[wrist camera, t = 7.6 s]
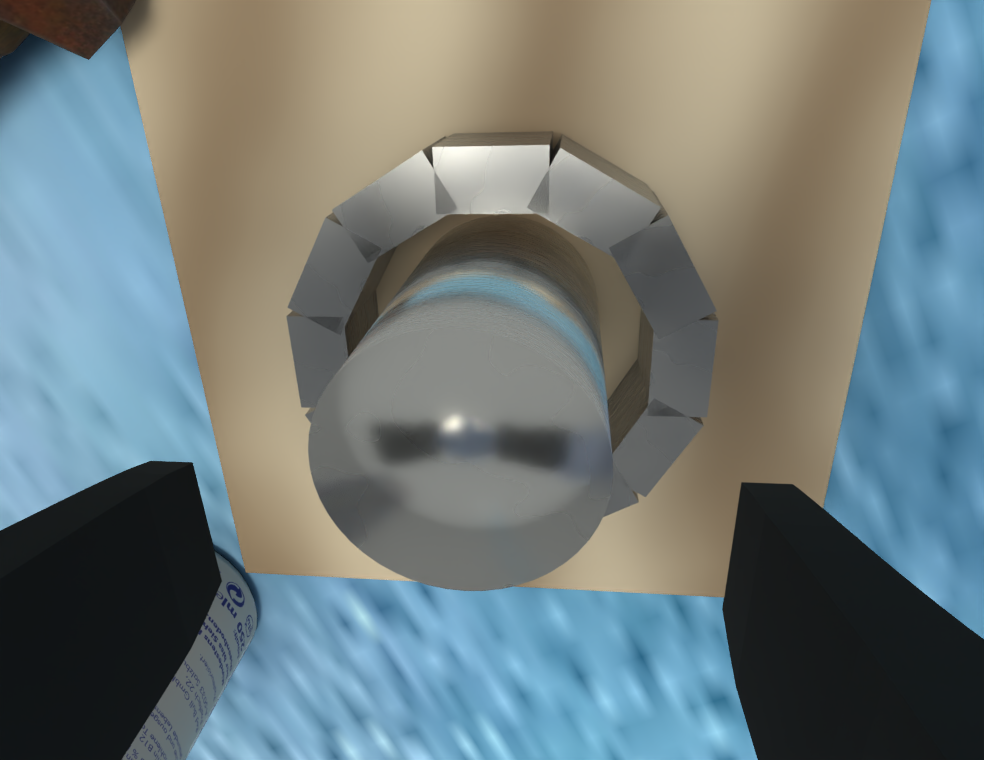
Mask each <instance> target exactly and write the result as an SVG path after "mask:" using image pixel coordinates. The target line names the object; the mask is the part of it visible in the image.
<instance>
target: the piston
mask: <svg viewBox="0 0 984 760" xmlns="http://www.w3.org/2000/svg"><path fill="white" fill-rule="evenodd" d="M308 455H309V466H310V471H311V475H312V479H313V483H314V486H315V488H316V491H317V493H318V496H319V498H320V500H321V502H322V504H323V506H324V508H325V510H326V511H327V513H328V515H329V516H330V518H331V519H332V520H333V522H334V523H335V525H336V526H337V527H338V529H339V530H340V531H341V532H342V533H343V534H344V535H345V536H346V537H347V538H348V540H349V541H350V542H351V543H353V544H354V545H355V546H356V547H357V548H358V549H359V550H361V551H362V552H363V553H364V554H366V555H367V556H368V557H370V558H371V559H373V560H374V561H376V562H377V563H378V564H380V565H382V566H384V567H386V568H387V569H389V570H391V571H393V572H395V573H397V574H399V575H402V576H404V577H406V578H409V579H411V580H414V581H417V582H420V583H424V584H427V585H431V586H435V587H440V588H445V589H453V590H463V591H486V590H495V589H503V588H508V587H512V586H517V585H520V584H523V583H526V582H529V581H532V580H535V579H537V578H539V577H542V576H544V575H546V574H548V573H550V572H552V571H553V570H555V569H557V568H558V567H560V566H561V565H563V564H564V563H566V562H567V561H568V560H569V559H571V558H572V557H573V556H574V555H575V554H577V553H578V552H579V551H580V550H581V548H582V547H583V546H584V545H585V544H586V543H587V542H588V541H589V540H590V538H591V537H592V535H593V534H594V532H595V531H596V529H597V528H598V526H599V524H600V522H601V520H602V518H603V516H604V514H605V512H606V509H607V506H608V502H609V499H610V496H611V490H612V482H613V457H612V447H611V436H610V425H609V415H608V404H607V394H606V383H605V373H604V362H603V352H602V341H601V331H600V320H599V310H598V299H597V293H596V287H595V284H594V281H593V277H592V274H591V272H590V270H589V268H588V266H587V264H586V262H585V261H584V259H583V258H582V256H581V255H580V253H579V252H578V251H577V250H576V249H575V248H574V246H573V245H572V244H571V243H570V242H569V241H567V240H566V239H565V238H564V237H563V236H562V235H560V234H559V233H557V232H556V231H554V230H553V229H551V228H549V227H547V226H545V225H543V224H541V223H539V222H536V221H533V220H530V219H527V218H522V217H517V216H507V215H496V216H486V217H481V218H477V219H473V220H471V221H468V222H465V223H463V224H461V225H459V226H457V227H455V228H453V229H452V230H450V231H449V232H447V233H446V234H444V235H443V236H442V237H441V238H440V239H439V240H438V241H437V242H435V243H434V244H433V246H432V247H431V248H430V249H429V251H428V252H427V253H426V254H425V256H424V257H423V258H422V260H421V261H420V262H419V264H418V265H417V266H416V268H415V269H414V270H413V272H412V273H411V274H410V276H409V277H408V278H407V280H406V281H405V282H404V284H403V285H402V286H401V288H400V289H399V290H398V292H397V293H396V294H395V296H394V297H393V298H392V300H391V301H390V302H389V304H388V305H387V306H386V308H385V309H384V310H383V312H382V313H381V314H380V316H379V317H378V318H377V320H376V321H375V322H374V324H373V325H372V326H371V328H370V329H369V330H368V332H367V333H366V334H365V336H364V337H363V338H362V340H361V341H360V342H359V344H358V345H357V346H356V348H355V349H354V350H353V352H352V353H351V354H350V356H349V357H348V358H347V360H346V361H345V362H344V364H343V365H342V366H341V368H340V369H339V370H338V372H337V373H336V374H335V376H334V377H333V378H332V380H331V381H330V383H329V384H328V385H327V387H326V389H325V390H324V392H323V394H322V396H321V397H320V399H319V401H318V403H317V406H316V409H315V411H314V414H313V416H312V421H311V426H310V430H309V441H308Z"/></svg>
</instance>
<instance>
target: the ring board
mask: <svg viewBox="0 0 984 760" xmlns="http://www.w3.org/2000/svg"><path fill="white" fill-rule="evenodd" d="M930 4H931V0H136V2H135V4H134V5H133V7H132V9H131V10H130V12H129V13H128V15H127V17H126V18H125V20H124V21H123V23H122V24H121V25H120V26H121V30H122V34H123V39H124V43H125V48H126V52H127V56H128V61H129V65H130V69H131V74H132V78H133V82H134V87H135V91H136V96H137V100H138V104H139V109H140V113H141V117H142V122H143V126H144V130H145V135H146V139H147V144H148V148H149V152H150V157H151V161H152V165H153V170H154V174H155V178H156V183H157V187H158V191H159V196H160V200H161V205H162V209H163V213H164V218H165V222H166V226H167V231H168V235H169V239H170V244H171V248H172V253H173V257H174V261H175V266H176V270H177V274H178V279H179V283H180V287H181V292H182V296H183V301H184V305H185V309H186V314H187V318H188V322H189V327H190V331H191V335H192V340H193V344H194V349H195V353H196V357H197V362H198V366H199V370H200V375H201V379H202V383H203V388H204V392H205V397H206V401H207V405H208V410H209V414H210V418H211V423H212V427H213V431H214V436H215V440H216V445H217V449H218V453H219V458H220V462H221V466H222V471H223V475H224V479H225V484H226V488H227V493H228V497H229V501H230V506H231V510H232V514H233V519H234V523H235V527H236V532H237V536H238V540H239V545H240V549H241V554H242V558H243V562H244V567H245V571H246V573H265V574H284V575H303V576H323V577H342V578H361V579H381V580H400V581H414V580H411V579H409V578H406V577H404V576H402V575H399V574H397V573H395V572H393V571H391V570H389V569H387V568H386V567H384V566H382V565H380V564H378V563H377V562H376V561H374V560H373V559H371V558H370V557H368V556H367V555H366V554H364V553H363V552H362V551H361V550H359V549H358V548H357V547H356V546H355V545H354V544H353V543H351V542H350V541H349V540H348V538H347V537H346V536H345V535H344V534H343V533H342V532H341V531H340V530H339V529H338V527H337V526H336V525H335V523H334V522H333V520H332V519H331V518H330V516H329V515H328V513H327V511H326V510H325V508H324V506H323V504H322V502H321V500H320V498H319V496H318V493H317V491H316V488H315V486H314V483H313V479H312V475H311V471H310V466H309V455H308V441H309V430H310V426H311V423H310V421H309V420H308V419H307V417H306V416H305V414H306V413H307V412H308V410H309V409H310V408H302V407H301V403H300V397H299V390H298V384H297V378H296V372H295V366H294V360H293V354H292V348H291V342H290V336H289V330H288V324H287V317H286V316H287V315H288V314H289V313H291V312H292V311H293V310H291V309H289V308H287V307H288V305H289V302H290V300H291V298H292V295H293V293H294V290H295V288H296V286H297V283H298V281H299V279H300V276H301V274H302V272H303V269H304V267H305V265H306V262H307V260H308V257H309V255H310V253H311V250H312V248H313V246H314V243H315V241H316V239H317V236H318V234H319V231H320V229H321V227H322V224H323V222H324V220H325V217H327V216H328V215H330V214H331V213H333V211H332V209H334V208H335V207H337V206H338V205H340V204H341V203H343V202H344V201H346V200H347V199H349V198H350V197H352V196H353V195H355V194H356V193H358V192H359V191H361V190H362V189H364V188H365V187H367V186H368V185H370V184H372V183H373V182H375V181H376V180H378V179H379V178H381V177H382V176H384V175H385V174H387V173H388V172H390V171H391V170H393V169H394V168H396V167H397V166H399V165H400V164H402V163H403V162H405V161H406V160H408V159H409V158H411V157H412V156H414V155H415V154H417V153H418V152H420V151H421V150H423V149H425V148H426V147H428V146H430V145H431V144H433V143H435V142H436V141H438V140H439V139H441V138H443V137H444V136H445V137H446V138H447V137H449V136H450V135H452V134H453V133H492V132H543V131H553V149H554V147H555V146H556V144H557V142H558V140H559V138H560V137H561V135H562V134H563V135H565V136H567V137H569V138H570V139H572V140H574V141H575V142H577V143H579V144H580V145H582V146H584V147H585V148H587V149H589V150H590V151H592V152H594V153H596V154H597V155H599V156H601V157H602V158H604V159H606V160H607V161H609V162H611V163H612V164H614V165H616V166H617V167H619V168H621V169H622V170H624V171H626V172H628V173H629V174H631V175H633V176H634V177H636V178H638V179H639V180H641V181H643V182H644V183H646V184H647V185H648V186H649V188H650V190H651V191H654V192H655V194H656V196H657V197H658V199H659V201H660V202H661V204H662V206H663V207H664V209H665V210H666V212H667V214H668V215H669V217H670V219H671V221H672V223H673V225H674V227H675V229H676V231H677V233H678V235H679V237H680V239H681V241H682V243H683V245H684V247H685V249H686V251H687V253H688V255H689V257H690V259H691V261H692V263H693V265H694V267H695V269H696V271H697V273H698V275H699V277H700V278H701V280H702V282H703V284H704V286H705V288H706V290H707V292H708V294H709V296H710V298H711V300H712V302H713V304H714V306H715V308H716V310H717V311H716V312H714V313H715V315H716V317H717V318H718V320H719V322H718V330H717V339H716V347H715V355H714V364H713V372H712V381H711V389H710V398H709V406H708V414H707V417H701V420H702V422H703V425H704V426H703V427H702V428H701V429H700V431H699V432H698V433H697V434H696V436H695V437H694V438H693V439H692V441H691V442H690V443H689V444H688V445H687V447H686V448H685V449H684V450H683V452H682V453H681V454H680V455H679V457H678V458H677V459H676V460H675V462H674V463H673V464H672V465H671V467H670V468H669V469H668V470H667V472H666V473H665V474H664V475H663V476H662V478H661V479H660V480H659V481H658V483H657V484H656V485H655V486H654V488H653V489H652V490H651V491H650V493H649V494H648V495H647V496H646V497H644V496H642V495H640V494H639V493H637V494H638V500H639V502H638V503H636V504H634V505H631V506H629V507H627V508H624V509H622V510H619V511H617V512H615V513H612V514H610V515H607V516H605V517H603V518H602V520H601V522H600V524H599V526H598V528H597V529H596V531H595V532H594V534H593V535H592V537H591V538H590V540H589V541H588V542H587V543H586V544H585V545H584V546H583V547H582V548H581V550H580V551H579V552H578V553H577V554H575V555H574V556H573V557H572V558H571V559H569V560H568V561H567V562H566V563H564V564H563V565H561V566H560V567H558V568H557V569H555V570H553V571H552V572H550V573H548V574H546V575H544V576H542V577H539V578H537V579H535V580H532V581H529V582H526V583H523V584H520V585H517V586H516V587H535V588H555V589H574V590H593V591H613V592H632V593H651V594H671V595H690V596H709V597H724V596H725V589H726V582H727V575H728V569H729V562H730V555H731V549H732V542H733V535H734V528H735V522H736V515H737V508H738V501H739V495H740V488H741V482H749V483H777V484H793V485H795V486H796V487H797V488H799V489H800V490H801V491H802V492H804V493H805V494H806V495H807V496H809V497H810V498H811V499H812V500H813V501H815V502H816V503H817V504H818V505H819V506H821V507H822V508H823V506H824V501H825V496H826V492H827V487H828V482H829V478H830V473H831V468H832V463H833V459H834V454H835V449H836V445H837V440H838V435H839V431H840V426H841V421H842V417H843V412H844V407H845V403H846V398H847V393H848V388H849V384H850V379H851V374H852V370H853V365H854V360H855V356H856V351H857V346H858V342H859V337H860V332H861V327H862V323H863V318H864V313H865V309H866V304H867V299H868V295H869V290H870V285H871V281H872V276H873V271H874V266H875V262H876V257H877V252H878V248H879V243H880V238H881V234H882V229H883V224H884V220H885V215H886V210H887V205H888V201H889V196H890V191H891V187H892V182H893V177H894V173H895V168H896V163H897V159H898V154H899V149H900V144H901V140H902V135H903V130H904V126H905V121H906V116H907V112H908V107H909V102H910V98H911V93H912V88H913V84H914V79H915V74H916V69H917V65H918V60H919V55H920V51H921V46H922V41H923V37H924V32H925V27H926V23H927V18H928V13H929V8H930ZM496 215H507V216H517V217H522V218H527V219H530V220H533V221H536V222H539V223H541V224H543V225H545V226H547V227H549V228H551V229H553V230H554V231H556V232H557V233H559V234H560V235H562V236H563V237H564V238H565V239H566V240H567V241H569V242H570V243H571V244H572V245H573V246H574V248H575V249H576V250H577V251H578V252H579V253H580V255H581V256H582V258H583V259H584V261H585V262H586V264H587V266H588V268H589V270H590V272H591V274H592V277H593V281H594V284H595V287H596V293H597V299H598V310H599V320H600V331H601V341H602V352H603V362H604V373H605V383H606V394H607V400H608V399H609V398H610V396H611V395H612V393H613V392H614V391H615V389H616V388H617V386H618V385H619V384H620V382H621V381H622V379H623V378H624V377H625V375H626V374H627V372H628V371H629V370H630V368H631V367H632V365H633V364H634V363H635V361H636V360H637V358H638V344H639V329H640V314H641V306H640V304H639V302H638V301H637V299H636V297H635V295H634V293H633V292H632V290H631V288H630V286H629V284H628V282H627V281H626V279H625V277H624V275H623V273H622V271H621V270H620V268H619V266H618V264H617V262H616V261H615V259H614V258H613V257H612V256H610V255H608V254H606V253H605V252H603V251H601V250H599V249H598V248H596V247H594V246H592V245H591V244H589V243H587V242H585V241H584V240H582V239H580V238H579V237H577V236H575V235H573V234H572V233H570V232H568V231H566V230H565V229H563V228H561V227H559V226H558V225H556V224H554V223H552V222H551V221H549V220H547V219H545V218H544V217H542V216H540V215H539V214H448V215H446V216H444V217H443V218H441V219H440V220H438V221H436V222H435V223H433V224H431V225H430V226H428V227H427V228H425V229H423V230H422V231H420V232H418V233H417V234H415V235H414V236H412V237H410V238H409V239H407V240H405V241H404V242H402V243H401V244H399V245H397V247H396V250H395V252H394V254H393V256H392V258H391V260H390V262H389V264H388V266H387V268H386V270H385V272H384V274H383V276H382V279H381V281H380V283H379V285H378V287H377V289H376V294H377V304H378V313H379V316H380V314H381V313H382V312H383V310H384V309H385V308H386V306H387V305H388V304H389V302H390V301H391V300H392V298H393V297H394V296H395V294H396V293H397V292H398V290H399V289H400V288H401V286H402V285H403V284H404V282H405V281H406V280H407V278H408V277H409V276H410V274H411V273H412V272H413V270H414V269H415V268H416V266H417V265H418V264H419V262H420V261H421V260H422V258H423V257H424V256H425V254H426V253H427V252H428V251H429V249H430V248H431V247H432V246H433V244H434V243H435V242H437V241H438V240H439V239H440V238H441V237H442V236H443V235H444V234H446V233H447V232H449V231H450V230H452V229H453V228H455V227H457V226H459V225H461V224H463V223H465V222H468V221H471V220H473V219H477V218H481V217H486V216H496Z"/></svg>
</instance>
